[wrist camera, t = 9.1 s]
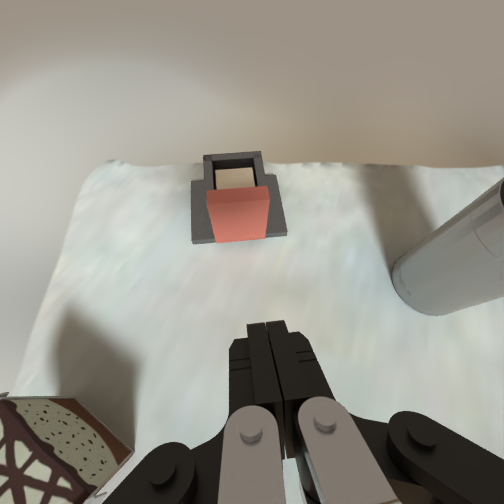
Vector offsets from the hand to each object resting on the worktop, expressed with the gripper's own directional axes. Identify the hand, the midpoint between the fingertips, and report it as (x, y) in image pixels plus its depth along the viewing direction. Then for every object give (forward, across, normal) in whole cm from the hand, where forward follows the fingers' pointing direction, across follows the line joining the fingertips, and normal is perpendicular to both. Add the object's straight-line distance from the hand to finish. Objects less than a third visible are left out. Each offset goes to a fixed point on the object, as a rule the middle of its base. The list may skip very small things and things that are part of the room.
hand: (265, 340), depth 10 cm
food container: (+12, +19, +21) cm, 31 cm away
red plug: (+30, 0, +1) cm, 30 cm away
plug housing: (+32, 0, 0) cm, 32 cm away
